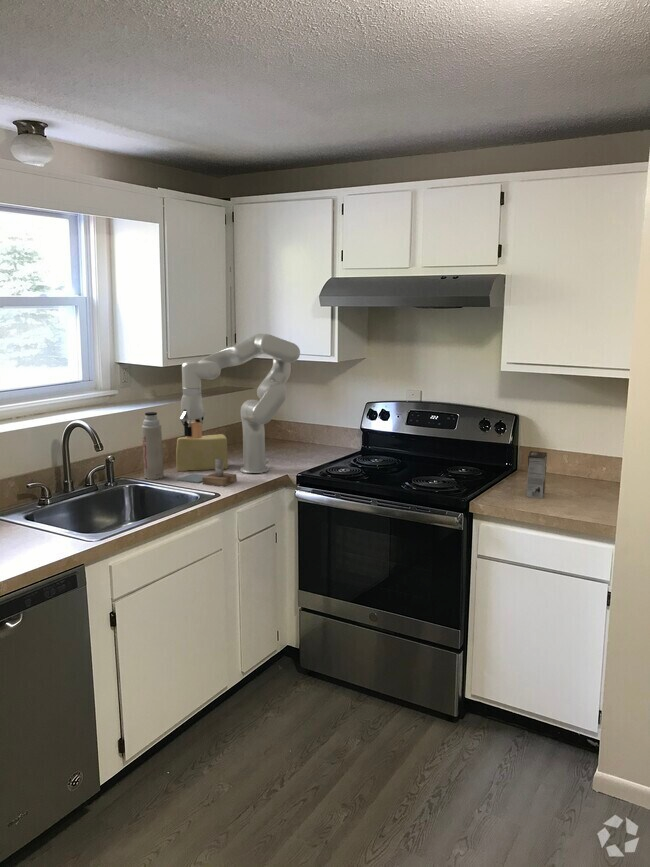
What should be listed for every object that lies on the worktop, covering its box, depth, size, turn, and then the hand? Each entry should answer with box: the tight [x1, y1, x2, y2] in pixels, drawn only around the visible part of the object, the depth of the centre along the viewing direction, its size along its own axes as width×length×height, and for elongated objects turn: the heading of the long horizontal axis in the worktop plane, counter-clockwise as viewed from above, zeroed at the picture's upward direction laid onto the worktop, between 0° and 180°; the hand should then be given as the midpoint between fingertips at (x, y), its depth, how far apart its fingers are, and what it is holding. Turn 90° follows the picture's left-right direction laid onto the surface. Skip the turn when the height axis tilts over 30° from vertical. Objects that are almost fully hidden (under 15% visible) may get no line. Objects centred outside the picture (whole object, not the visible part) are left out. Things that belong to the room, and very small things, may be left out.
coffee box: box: [526, 450, 548, 499], centre depth 275 cm, size 9×6×16 cm
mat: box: [176, 473, 208, 484], centre depth 304 cm, size 11×11×1 cm
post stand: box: [202, 458, 238, 487], centre depth 297 cm, size 10×10×10 cm
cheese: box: [175, 433, 229, 472], centre depth 321 cm, size 22×10×15 cm, turn 109°
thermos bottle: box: [141, 411, 165, 480], centre depth 305 cm, size 8×8×28 cm
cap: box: [185, 421, 203, 439], centre depth 300 cm, size 6×6×6 cm
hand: (193, 434), depth 301 cm, fingers closed on cap, 6 cm apart
